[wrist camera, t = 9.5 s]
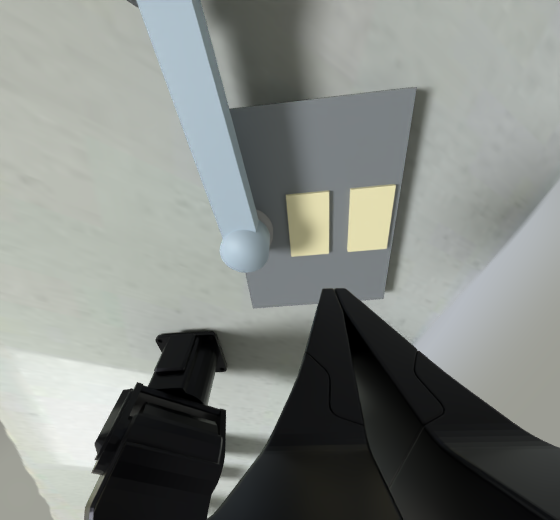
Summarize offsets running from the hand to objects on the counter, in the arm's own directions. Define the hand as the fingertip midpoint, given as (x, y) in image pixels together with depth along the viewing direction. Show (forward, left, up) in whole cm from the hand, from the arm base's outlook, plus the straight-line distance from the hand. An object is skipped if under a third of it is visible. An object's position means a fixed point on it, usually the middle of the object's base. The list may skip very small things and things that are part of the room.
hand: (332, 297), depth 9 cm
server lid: (-2, -1, -12) cm, 12 cm away
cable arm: (+5, +5, -9) cm, 12 cm away
